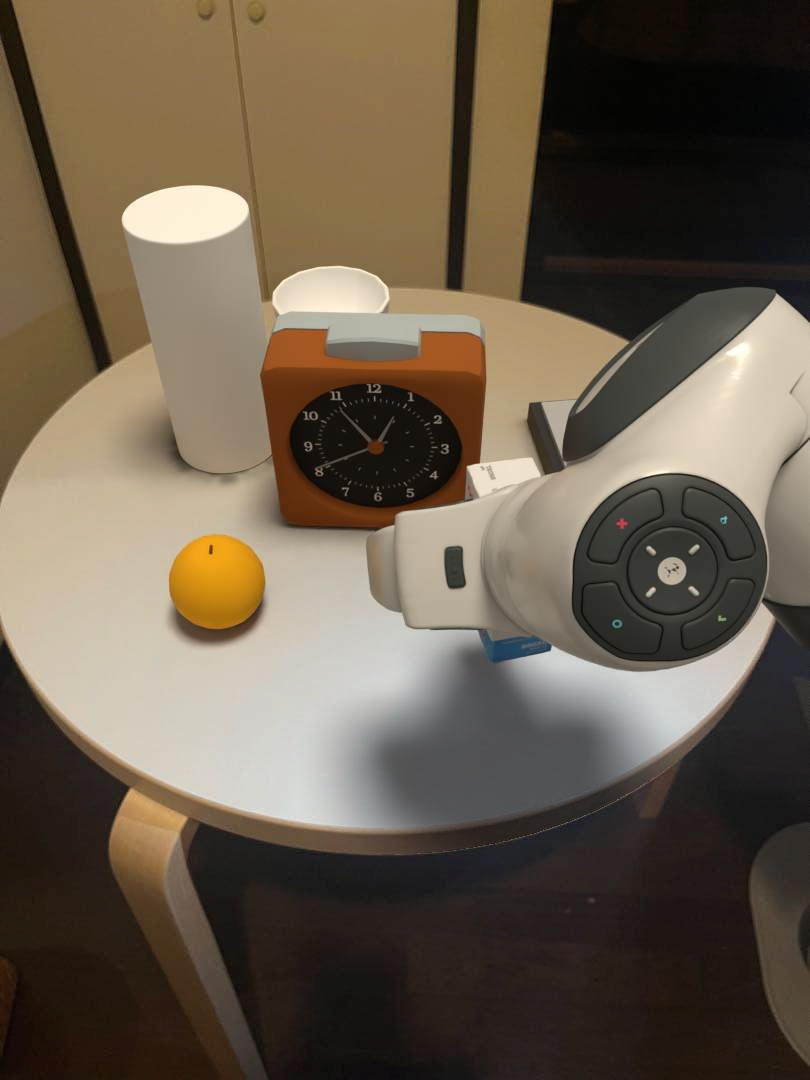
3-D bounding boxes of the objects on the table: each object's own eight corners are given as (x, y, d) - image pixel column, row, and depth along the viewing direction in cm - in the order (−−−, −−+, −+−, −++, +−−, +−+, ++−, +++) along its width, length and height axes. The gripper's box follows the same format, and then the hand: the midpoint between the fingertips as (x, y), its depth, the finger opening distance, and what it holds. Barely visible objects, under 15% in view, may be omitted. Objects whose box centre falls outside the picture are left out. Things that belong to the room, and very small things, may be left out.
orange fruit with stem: (162, 634, 73) (143, 575, 68) (198, 567, 79) (182, 508, 73) (251, 651, 72) (238, 593, 67) (281, 581, 77) (272, 522, 72)
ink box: (554, 653, 62) (576, 538, 53) (487, 665, 61) (499, 552, 53) (518, 567, 68) (532, 452, 59) (456, 578, 67) (462, 462, 58)
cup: (260, 394, 97) (247, 307, 89) (320, 340, 104) (313, 255, 96) (355, 428, 92) (350, 339, 84) (410, 369, 100) (411, 282, 92)
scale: (651, 410, 95) (657, 387, 92) (693, 490, 86) (700, 467, 83) (526, 420, 93) (529, 397, 91) (555, 502, 85) (559, 478, 82)
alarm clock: (280, 528, 82) (252, 343, 67) (293, 467, 88) (269, 285, 73) (474, 533, 82) (489, 348, 67) (473, 472, 88) (487, 289, 73)
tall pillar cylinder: (300, 435, 92) (274, 208, 74) (225, 488, 86) (177, 255, 68) (232, 396, 96) (192, 173, 78) (156, 444, 91) (94, 215, 73)
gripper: (739, 480, 47) (648, 491, 61) (367, 514, 46) (360, 517, 59) (749, 595, 47) (656, 579, 61) (378, 633, 46) (369, 608, 59)
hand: (508, 549), depth 60 cm, fingers closed on ink box, 5 cm apart
